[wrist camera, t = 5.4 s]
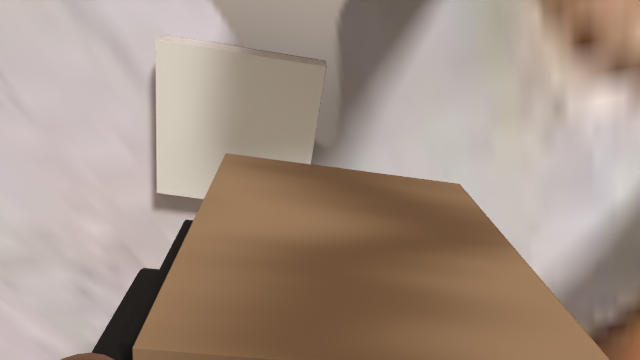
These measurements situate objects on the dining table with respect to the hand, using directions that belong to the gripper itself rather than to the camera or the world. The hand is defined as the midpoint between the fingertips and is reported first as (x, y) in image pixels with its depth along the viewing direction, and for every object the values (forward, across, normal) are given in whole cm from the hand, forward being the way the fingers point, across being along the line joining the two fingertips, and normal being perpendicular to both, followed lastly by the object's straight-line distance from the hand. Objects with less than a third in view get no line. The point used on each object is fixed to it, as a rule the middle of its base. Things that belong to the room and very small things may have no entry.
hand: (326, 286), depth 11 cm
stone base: (+19, +4, +2) cm, 19 cm away
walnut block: (+1, 0, 0) cm, 1 cm away
